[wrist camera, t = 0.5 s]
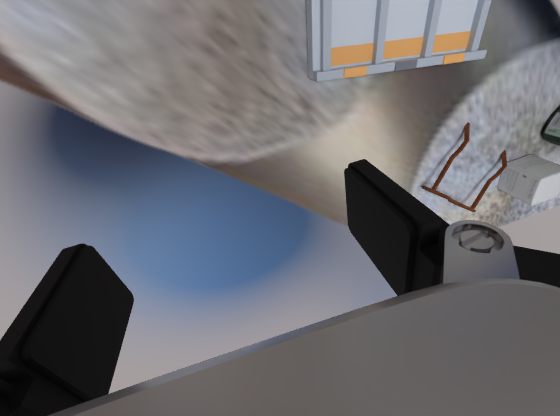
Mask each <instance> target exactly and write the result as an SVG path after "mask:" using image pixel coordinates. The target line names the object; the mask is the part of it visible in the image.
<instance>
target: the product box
mask: <svg viewBox="0 0 560 416" xmlns="http://www.w3.org/2000/svg"><path fill="white" fill-rule="evenodd" d="M497 188H498V189H500V190H502V191H504V192H505V193H507V194H509V195H511V196H513V197H515V198H517V199H519V200H521V201H523V202H525V203H527V204H529V205H531V206H532V205H536V204H538V203H541V202H544V201H546V200H549V199H552V198H555V197H557V196H558V195H559V193H560V165H558V164H555V163H553V162H550V161H547V160H545V159H542V158H539V157H537V156H534V155H528V156H524V157H522V158H519V159H516V160H513V161H510V162H507V167H506V168H505V169H504V170H503V172H502V173H501V176H500V180H499V183H498V186H497Z"/></svg>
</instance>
